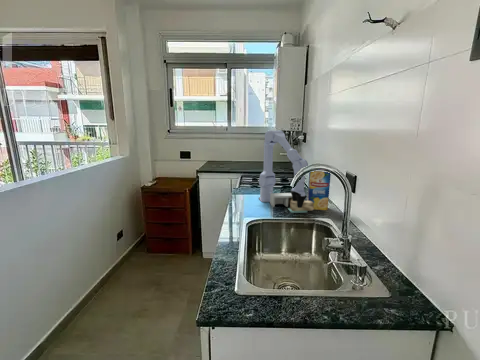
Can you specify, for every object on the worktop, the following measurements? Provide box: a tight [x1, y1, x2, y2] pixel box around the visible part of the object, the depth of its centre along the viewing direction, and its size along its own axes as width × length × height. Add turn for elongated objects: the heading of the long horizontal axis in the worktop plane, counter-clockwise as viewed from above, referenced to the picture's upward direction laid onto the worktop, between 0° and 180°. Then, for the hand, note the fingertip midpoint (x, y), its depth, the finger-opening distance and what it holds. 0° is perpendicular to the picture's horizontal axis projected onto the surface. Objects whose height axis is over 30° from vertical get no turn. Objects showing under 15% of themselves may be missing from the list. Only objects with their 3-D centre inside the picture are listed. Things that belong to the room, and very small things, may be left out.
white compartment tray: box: [269, 192, 293, 208], centre depth 160 cm, size 7×18×6 cm, turn 98°
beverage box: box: [306, 171, 332, 211], centre depth 154 cm, size 7×11×22 cm, turn 81°
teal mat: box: [287, 207, 308, 214], centre depth 150 cm, size 7×9×1 cm
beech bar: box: [289, 200, 314, 212], centre depth 150 cm, size 12×4×4 cm, turn 98°
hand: (297, 205), depth 149 cm, fingers open, 6 cm apart
